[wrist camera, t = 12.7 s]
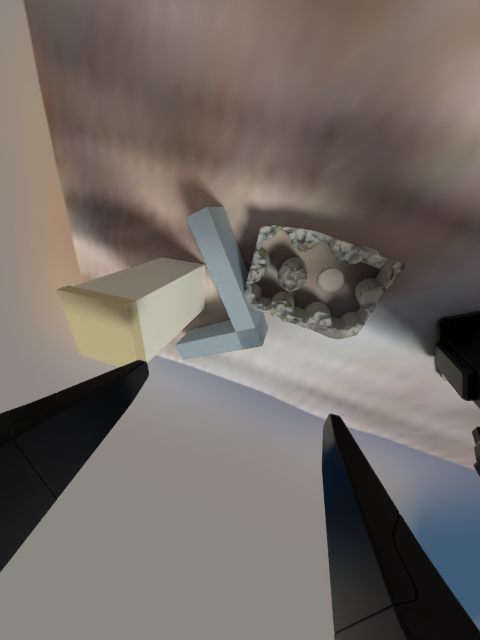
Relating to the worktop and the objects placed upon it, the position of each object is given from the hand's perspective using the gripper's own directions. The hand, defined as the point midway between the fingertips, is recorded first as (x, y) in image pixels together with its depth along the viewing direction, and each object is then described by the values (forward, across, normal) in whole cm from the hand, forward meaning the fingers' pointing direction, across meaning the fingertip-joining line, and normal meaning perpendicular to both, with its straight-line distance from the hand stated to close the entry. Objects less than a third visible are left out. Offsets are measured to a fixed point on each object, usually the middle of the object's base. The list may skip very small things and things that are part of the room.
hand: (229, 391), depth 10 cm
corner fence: (+13, +7, 0) cm, 15 cm away
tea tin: (+13, +10, 0) cm, 16 cm away
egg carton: (+14, -3, -2) cm, 14 cm away
